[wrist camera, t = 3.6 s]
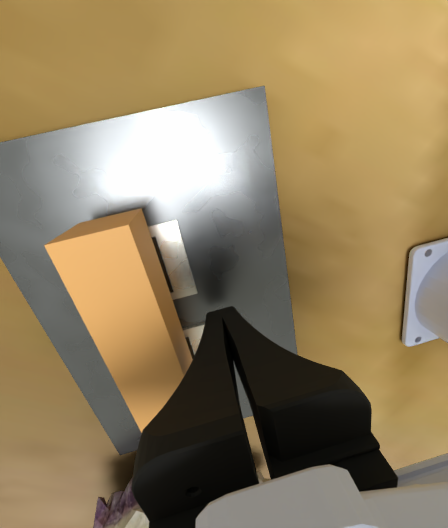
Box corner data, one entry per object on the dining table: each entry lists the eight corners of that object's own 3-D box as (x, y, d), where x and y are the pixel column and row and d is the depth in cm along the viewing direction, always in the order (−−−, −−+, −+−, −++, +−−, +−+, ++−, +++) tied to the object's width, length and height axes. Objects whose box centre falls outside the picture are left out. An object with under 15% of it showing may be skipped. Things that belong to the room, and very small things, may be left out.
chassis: (255, 93, 12) (269, 81, 10) (294, 383, 20) (307, 409, 18) (-32, 156, 11) (-78, 155, 9) (124, 433, 19) (117, 466, 17)
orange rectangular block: (229, 445, 17) (240, 510, 14) (176, 461, 17) (176, 531, 14) (153, 205, 11) (142, 224, 8) (66, 225, 11) (17, 254, 7)
